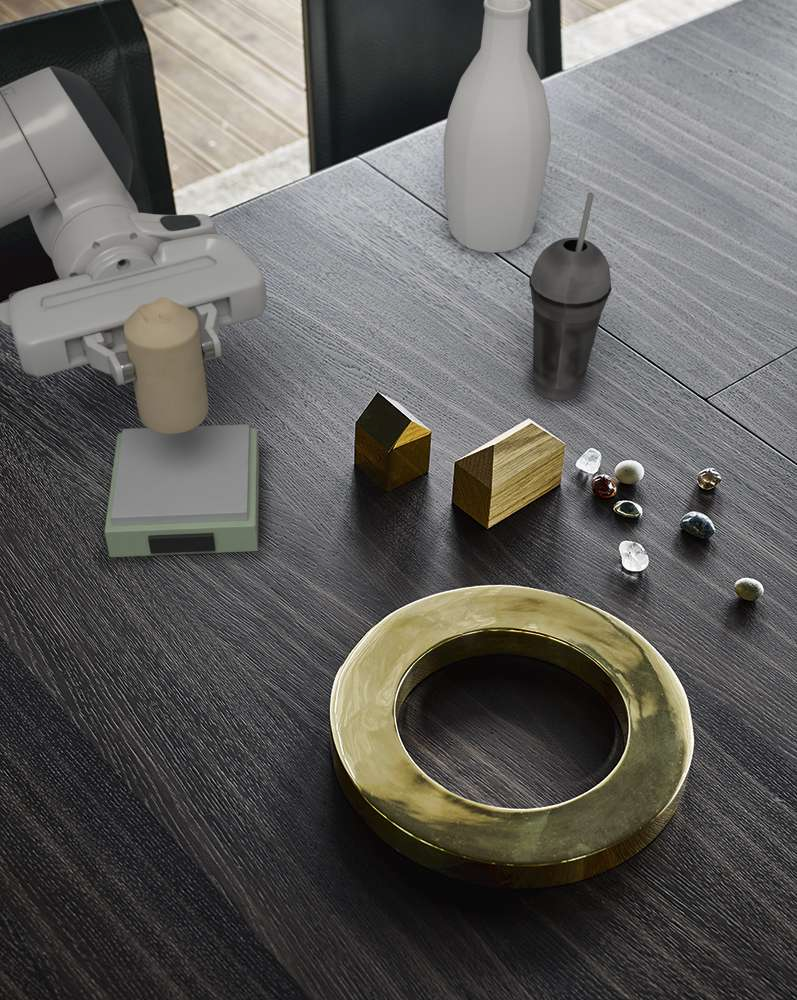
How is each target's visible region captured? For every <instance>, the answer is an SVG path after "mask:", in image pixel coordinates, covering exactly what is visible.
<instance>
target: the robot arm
mask: <svg viewBox="0 0 797 1000" xmlns="http://www.w3.org/2000/svg"><path fill="white" fill-rule="evenodd" d="M101 99H102V98H101V97H99V95H98V93H97V92H96V90H95V88H94V87H93V86H92V84H91V83H90V82H89V81H88V80H87V79H85V78H84V77H82V76H80V75H78V74H76V73H75V72H72V71H70V70H67V69H65V68H62V67H58V66H54V65H49V66H47V67H44V68H42V69H40V70H37V71H34V72H33V73H31V74H28V75H26V76H23V77H21V78H19V79H16V80H15V81H12V82H9V83H8V84H5V85H3V86H1V87H0V229H1V228H4V227H6V226H8V225H10V224H13V223H14V222H16V221H18V220H21V219H23V218H25V217H27V216H29V219H30V221H31V223H32V226H33V229H34V232H35V234H36V235H37V238H38V240H39V242H40V244H41V246H42V248H43V250H44V251H45V253H46V254H47V256H48V257H50V259H51V260H52V261H51V262H52V265H53V268H54V270H55V273H56V275H57V277H58V280H54V281H51V282H47V283H43V284H38V285H35V286H31V287H27V288H24V289H22V290H18V291H14V292H12V293H10V294H9V295H8V298H6V299H5V300H2V301H1V302H0V326H1V327H2V328H3V329H4V330H6V331H7V332H11V333H12V336H13V340H14V345H15V348H16V351H17V355H18V359H19V362H20V365H21V368H22V370H23V372H24V374H27V375H31V376H33V377H36V378H43V377H46V376H49V375H54V374H57V373H60V372H65V371H67V370H71V369H75V368H79V367H83V366H86V365H90V366H91V368H92V369H95V370H97V371H99V372H103V373H105V374H107V375H111V376H112V378H113V380H114V382H115V383H116V385H117V386H122V385H125V384H128V383H131V382H132V383H133V381H135V380H136V375H135V373H134V372H135V367H134V364H133V362H132V361H131V359H129V355H128V350H127V345H126V339H125V333H124V325H125V322H126V320H127V319H128V318H129V316H130V315H131V314H133V313H134V312H135V311H136V310H137V309H138V307H139V306H141V305H143V304H150V303H153V302H154V301H156V300H157V299H159V298H161V297H165V298H168V299H169V300H171V301H173V302H175V303H177V304H180V305H182V306H184V307H186V308H188V309H189V310H191V311H192V312H193V313H194V314H195V315H196V317H197V319H198V324H199V332H200V340H201V348H202V356H203V362H205V361H208V360H212V359H215V358H216V359H217V358H221V357H222V346H221V341H220V338H219V335H220V329H221V328H224V327H228V326H231V325H234V324H238V323H239V324H240V323H243V322H246V321H249V320H254V319H257V318H260V317H261V316H263V314H264V312H265V311H266V308H267V305H268V297H267V285H266V279H265V276H264V274H263V272H262V270H261V269H260V267H259V266H258V265H257V264H256V262H255V261H254V260H253V258H252V257H251V255H249V254H248V253H247V252H246V251H245V249H244V248H242V246H240V245H239V244H238V243H237V242H236V241H235V240H233V239H232V238H231V237H228V236H225V235H223V234H220V233H219V234H218V231H217V228H216V224H215V221H214V219H213V218H212V217H211V216H210V215H208V214H205V213H191V214H156V213H155V214H154V213H147V212H139V210H138V206H137V204H136V201H135V200H134V198H133V197H132V195H131V194H130V192H129V190H130V188H131V184H132V177H133V168H134V167H133V166H134V161H133V160H134V159H133V157H132V153H131V151H130V150H131V149H130V147H129V145H128V143H127V140H126V137H125V136H124V133H123V132H122V129H121V128H120V126H119V124H118V123H117V121H116V119H115V117H114V116H113V115H112V113H111V112H110V110H109V109H108V107H107V106H106V105H105V103H104V102H103V101H102V100H101Z"/></svg>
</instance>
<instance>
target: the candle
mask: <svg viewBox="0 0 797 1000" xmlns="http://www.w3.org/2000/svg"><path fill="white" fill-rule="evenodd" d="M124 333H125V339H126V345H127V350H128V355H129V359H131V361H132V362H133V364H134V367H135V372H134V373H135V375H136V380H135V381H132V384H133V390H134V395H135V401H136V407H137V410H138V411H137V413H138V415H139V419H140V421H141V422H142V424H143V425H144V426H145V428H149V429H151V430H153V431H155V432H159V433H164V434H176V433H182V432H186V431H189V430H191V429H193V428H195V427H197V426H201V424H202V423H203V422H204V421H205V420H206V418H207V416H208V414H209V396H208V388H207V380H206V371H205V365H204V361H203V356H202V348H201V340H200V332H199V324H198V319H197V317H196V315H195V314H194V313H193V312H192V311H191V310H189V309H188V308H186V307H184V306H182V305H180V304H177V303H175V302H173V301H171V300H169V299H168V298H165V297H161V298H159V299H157V300H156V301H154V302H153V303H150V304H143V305H141V306H139V307H138V309H137V310H136V311H135V312H134V313H133V314H131V315H130V316H129V318H128V319H127V320H126V322H125V325H124Z"/></svg>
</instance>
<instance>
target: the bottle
mask: <svg viewBox="0 0 797 1000" xmlns="http://www.w3.org/2000/svg"><path fill="white" fill-rule="evenodd" d="M531 5H532V2H531V0H484V1H483V8H484V15H483V24H482V34H481V42H480V48H479V50H478V51H477V53H476V54H475V56H474V57H473V59H472V60H471V62H470V64H469V65H468V67H467V68H466V70H465V71H464V73H463V74H462V76H461V77H460V79H459V82H458V85H457V87H456V90H455V93H454V94H453V95H454V96H453V98H452V101H451V104H450V107H449V110H448V113H447V119H446V124H445V129H444V133H443V189H444V196H445V198H444V199H445V205H446V206H445V207H446V214H447V223H448V222H449V223H448V229H449V231H450V234H451V235H452V237H453V238H454V239H455V240H456V241H457V242H458V244H460V245H462V246H464V247H465V248H467V249H469V250H472V251H476V252H479V253H487V254H488V253H489V254H495V253H497V254H498V253H505V252H509V251H513V250H516V249H517V248H519V247H522V246H523V245H524V244H525V243H526V242H527V241H528V239H529V238H530V237H531V236H532V234H533V230H534V227H535V222H536V220H537V215H538V211H539V208H540V204H541V202H542V201H541V200H542V197H543V194H544V193H543V192H544V187H545V181H546V174H547V170H548V169H547V168H548V162H549V155H550V149H551V143H552V133H551V117H550V109H549V104H548V100H547V95H546V92H545V91H546V90H545V86H544V84H543V82H542V80H541V77H540V76H539V73H538V71H537V69H536V67H535V65H534V63H533V60H532V58H531V57H530V54H529V52H528V36H529V35H528V33H529V12H530V10H531ZM449 225H450V226H449ZM450 229H451V230H452V231H453V232H452V231H451V230H450ZM458 237H459V238H458Z"/></svg>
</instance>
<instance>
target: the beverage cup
mask: <svg viewBox="0 0 797 1000" xmlns="http://www.w3.org/2000/svg"><path fill="white" fill-rule="evenodd" d="M594 197H595V193H593V192H590V191H589V192H588V193H587V196H586V200H585V205H584V211H583V215H582V220H581V224H580V228H579V233H578V237H566V238H565V237H564V238H561V239H558V240H556V241H554V242H552V243H551V244H549V245H548V246H547V247H546V248H544V249H543V250H542V251H541V253H540V254H539V256H538V257H537V260H536V261H535V263H534V264H533V267H532V271H531V274H530V276H529V278H528V281H529V282H528V283H529V288H530V296H531V304H532V306H533V307H532V308H533V309H532V311H533V312H532V313H533V314H532V316H533V317H532V321H533V322H532V375H533V388H534V391H535V392H536V393H537V394H538V395H539V396H541V397H542V398H545V399H546V400H551V401H554V402H556V401H557V402H563V401H570V400H572V399H574V398H576V397H577V396H578V395H580V393H581V390H582V387H583V386H582V385H583V383H584V380H585V378H586V374H587V370H588V367H589V362H590V359H591V355H592V353H593V348H594V344H595V340H596V337H597V331H598V328H599V323H600V320H601V316H602V313H603V310H604V309H605V307H606V304H607V301H608V299H609V297H610V294H611V292H612V279H611V270H610V269H611V268H610V265H609V262H608V260H607V257H606V256H605V255H604V253H603V252H602V250H601V248H599V247H598V246H597V245H595V244H594V243H593V242H591V241H589V240H586V239H585V237H586V233H587V228H588V224H589V219H590V215H591V211H592V205H593V201H594Z"/></svg>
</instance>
